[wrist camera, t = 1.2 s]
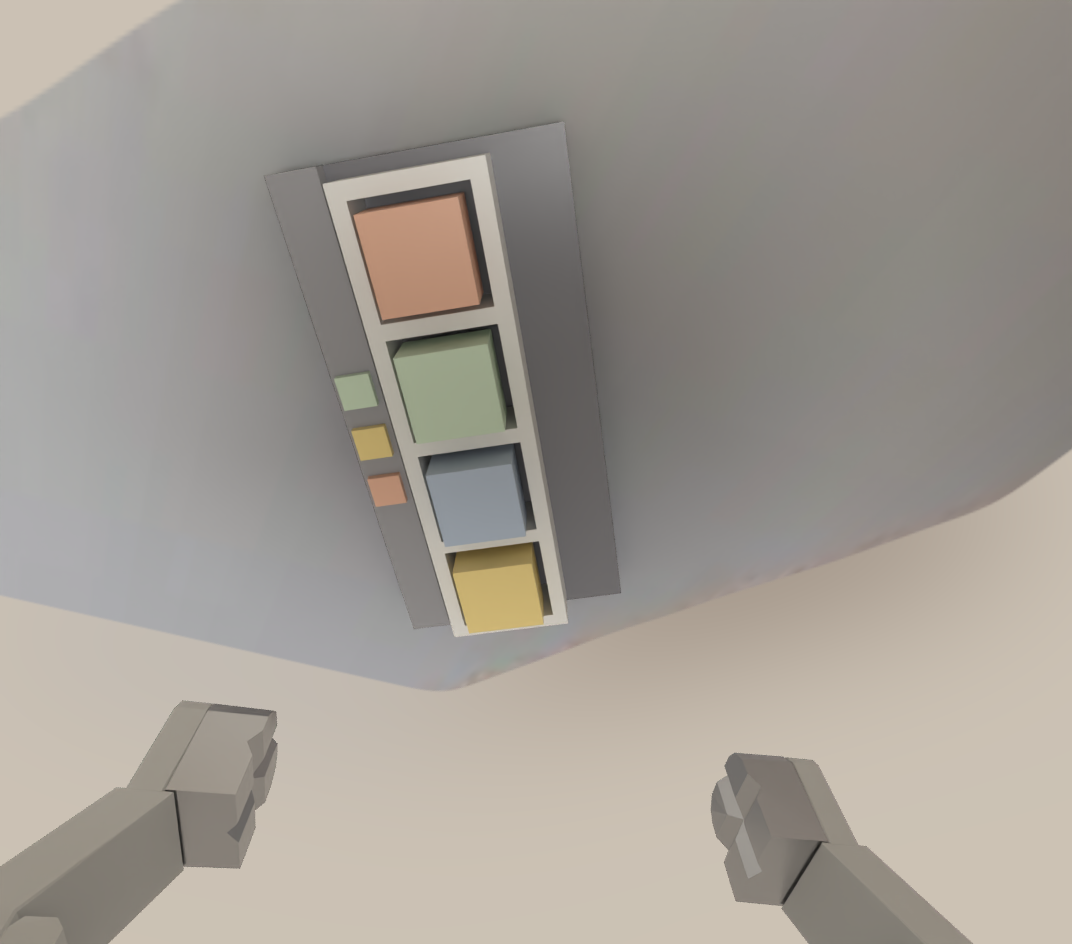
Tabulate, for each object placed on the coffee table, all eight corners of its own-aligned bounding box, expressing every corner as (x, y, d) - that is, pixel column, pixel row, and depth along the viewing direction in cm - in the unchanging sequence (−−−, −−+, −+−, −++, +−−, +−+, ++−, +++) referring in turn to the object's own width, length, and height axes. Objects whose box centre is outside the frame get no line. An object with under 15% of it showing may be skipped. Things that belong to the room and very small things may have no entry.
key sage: (490, 328, 31) (487, 343, 29) (507, 411, 33) (505, 431, 31) (403, 342, 31) (393, 358, 29) (424, 423, 33) (416, 444, 31)
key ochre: (531, 537, 37) (531, 563, 34) (543, 596, 39) (543, 624, 36) (457, 547, 37) (452, 573, 35) (472, 605, 39) (469, 633, 37)
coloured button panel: (562, 121, 30) (567, 120, 25) (617, 574, 43) (627, 625, 38) (279, 173, 31) (236, 180, 27) (415, 599, 44) (402, 652, 39)
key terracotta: (464, 191, 28) (457, 196, 26) (483, 291, 30) (479, 304, 28) (367, 208, 28) (353, 215, 26) (393, 306, 30) (382, 320, 28)
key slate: (513, 442, 34) (511, 463, 31) (526, 511, 36) (526, 536, 34) (432, 453, 34) (425, 476, 32) (450, 521, 36) (445, 546, 34)
